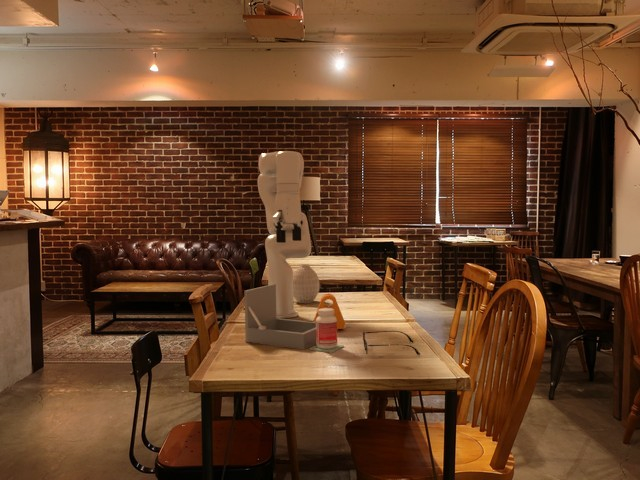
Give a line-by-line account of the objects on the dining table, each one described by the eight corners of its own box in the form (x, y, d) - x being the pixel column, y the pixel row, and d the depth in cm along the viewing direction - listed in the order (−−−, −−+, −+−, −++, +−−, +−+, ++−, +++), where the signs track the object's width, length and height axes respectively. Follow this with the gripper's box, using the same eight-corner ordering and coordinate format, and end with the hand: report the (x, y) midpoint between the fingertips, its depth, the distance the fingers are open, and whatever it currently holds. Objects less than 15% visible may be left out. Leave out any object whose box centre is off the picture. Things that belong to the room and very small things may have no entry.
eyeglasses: (361, 342, 165) (361, 329, 165) (413, 342, 165) (413, 329, 165) (364, 357, 149) (364, 343, 149) (421, 357, 148) (421, 343, 148)
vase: (302, 298, 245) (301, 262, 244) (325, 301, 238) (324, 263, 237) (284, 303, 235) (283, 265, 234) (308, 305, 228) (307, 266, 227)
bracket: (344, 326, 187) (343, 292, 186) (345, 331, 180) (344, 295, 179) (313, 326, 187) (312, 292, 186) (313, 331, 180) (312, 296, 179)
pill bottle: (341, 347, 157) (340, 309, 156) (323, 350, 154) (323, 312, 153) (329, 343, 162) (329, 306, 162) (312, 346, 159) (311, 309, 158)
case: (245, 342, 167) (244, 290, 166) (274, 331, 181) (273, 284, 180) (303, 349, 157) (302, 295, 156) (329, 337, 171) (328, 287, 170)
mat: (309, 349, 156) (309, 348, 156) (321, 344, 163) (321, 342, 163) (332, 352, 153) (332, 351, 153) (344, 346, 159) (344, 345, 159)
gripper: (292, 190, 186) (293, 239, 187) (263, 189, 170) (264, 243, 171) (311, 189, 182) (312, 240, 183) (283, 188, 167) (284, 243, 168)
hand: (289, 241), depth 177 cm, fingers open, 9 cm apart
